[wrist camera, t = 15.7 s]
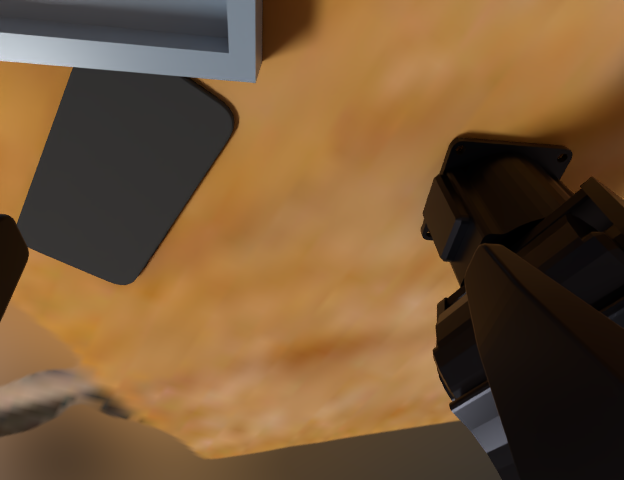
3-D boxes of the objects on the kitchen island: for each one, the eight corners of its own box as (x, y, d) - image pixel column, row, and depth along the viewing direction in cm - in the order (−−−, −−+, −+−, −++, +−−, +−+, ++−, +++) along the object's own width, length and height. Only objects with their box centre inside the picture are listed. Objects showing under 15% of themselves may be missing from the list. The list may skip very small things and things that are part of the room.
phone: (243, 119, 19) (129, 291, 26) (245, 112, 20) (133, 282, 27) (89, 14, 16) (9, 240, 23) (98, 11, 17) (17, 232, 24)
